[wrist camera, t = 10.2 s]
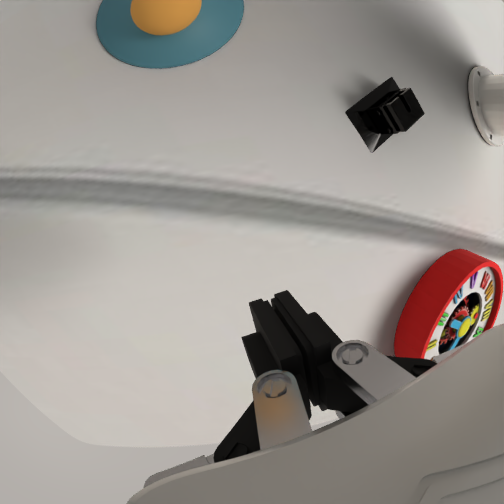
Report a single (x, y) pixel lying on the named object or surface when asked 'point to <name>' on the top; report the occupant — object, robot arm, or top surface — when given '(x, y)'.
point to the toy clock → (449, 305)
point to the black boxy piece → (384, 113)
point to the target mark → (167, 46)
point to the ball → (164, 15)
